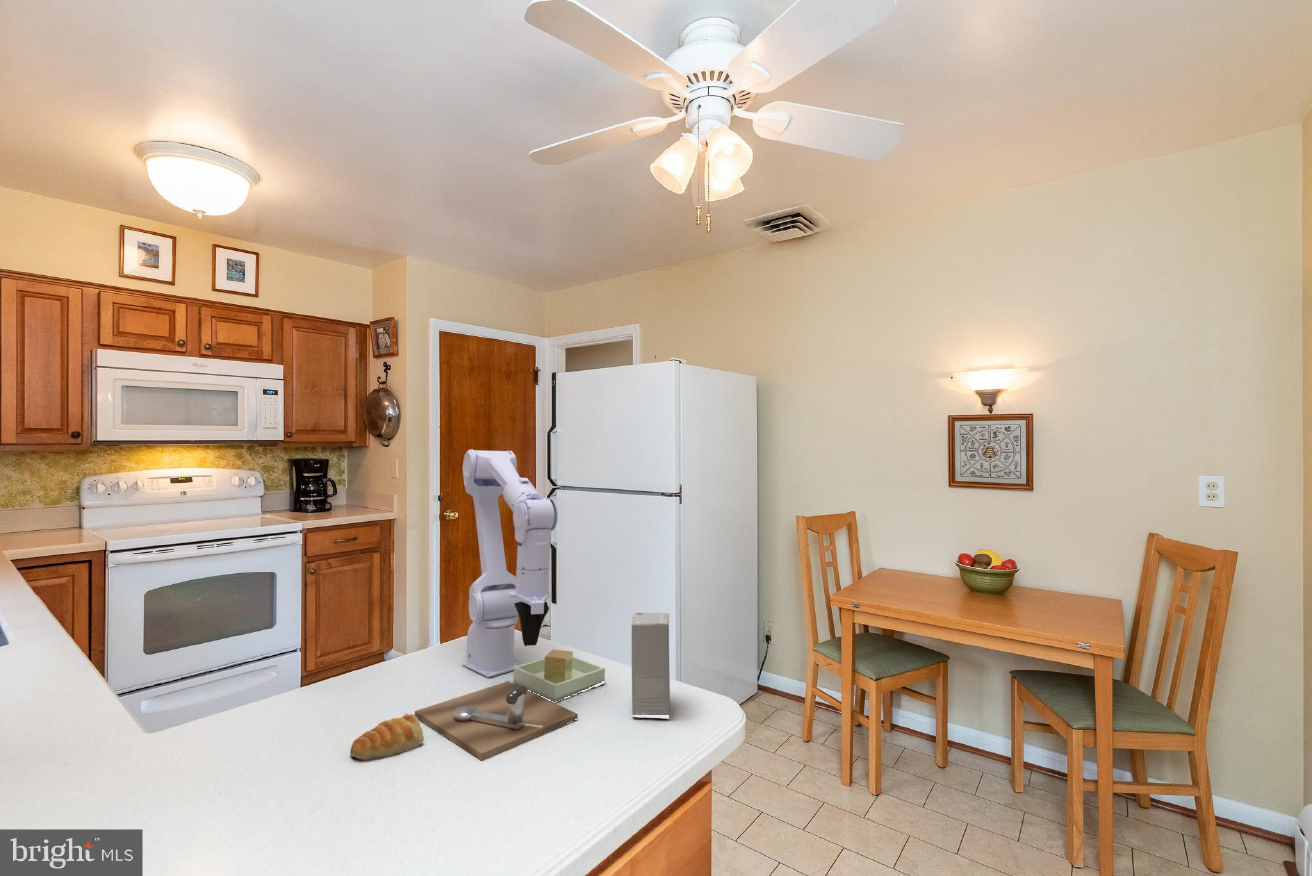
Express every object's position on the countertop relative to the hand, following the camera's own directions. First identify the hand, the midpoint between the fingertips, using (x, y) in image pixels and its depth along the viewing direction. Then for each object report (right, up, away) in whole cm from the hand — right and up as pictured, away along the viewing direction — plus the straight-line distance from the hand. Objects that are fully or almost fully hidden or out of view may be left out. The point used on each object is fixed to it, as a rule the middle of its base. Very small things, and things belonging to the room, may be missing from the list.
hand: (529, 644), depth 106 cm
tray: (+4, -10, +7) cm, 12 cm away
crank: (-4, -8, -12) cm, 15 cm away
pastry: (-16, -9, -19) cm, 26 cm away
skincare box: (+21, -10, -3) cm, 24 cm away
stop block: (+4, -9, +6) cm, 11 cm away
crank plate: (-4, -9, -9) cm, 13 cm away
